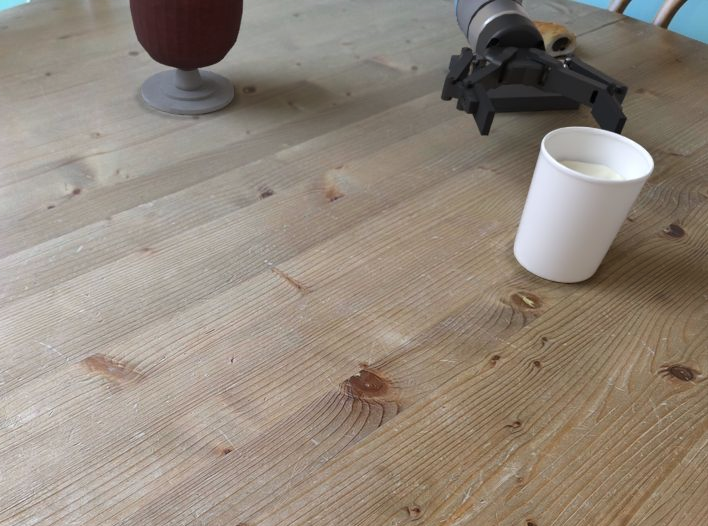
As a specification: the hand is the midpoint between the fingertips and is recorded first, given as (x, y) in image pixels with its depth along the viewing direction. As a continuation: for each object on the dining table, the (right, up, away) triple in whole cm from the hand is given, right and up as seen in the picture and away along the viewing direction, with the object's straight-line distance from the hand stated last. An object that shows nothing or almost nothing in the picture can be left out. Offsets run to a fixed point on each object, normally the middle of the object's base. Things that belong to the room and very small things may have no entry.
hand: (553, 127), depth 77 cm
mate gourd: (-39, +11, +22) cm, 46 cm away
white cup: (0, -14, -1) cm, 14 cm away
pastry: (+14, +23, +38) cm, 47 cm away
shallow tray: (+5, +14, +27) cm, 31 cm away
